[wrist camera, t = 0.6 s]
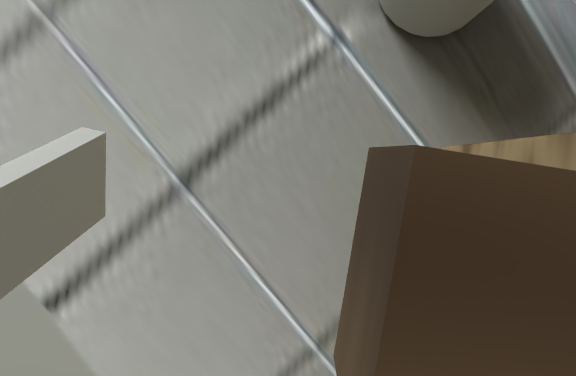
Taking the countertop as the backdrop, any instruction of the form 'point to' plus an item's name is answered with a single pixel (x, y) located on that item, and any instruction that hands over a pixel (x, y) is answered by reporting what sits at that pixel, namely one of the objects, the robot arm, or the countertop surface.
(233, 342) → the countertop surface
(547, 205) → the frame bar
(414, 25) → the can
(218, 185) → the countertop surface
